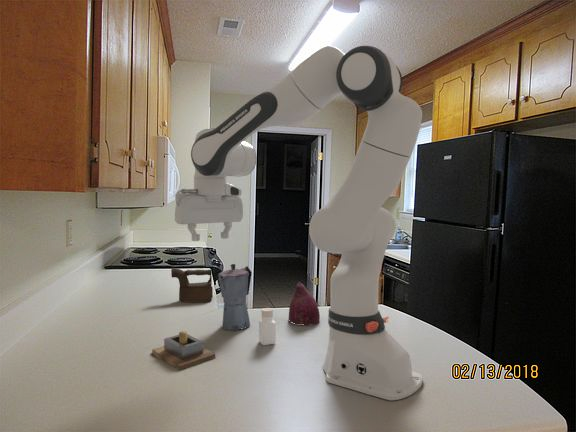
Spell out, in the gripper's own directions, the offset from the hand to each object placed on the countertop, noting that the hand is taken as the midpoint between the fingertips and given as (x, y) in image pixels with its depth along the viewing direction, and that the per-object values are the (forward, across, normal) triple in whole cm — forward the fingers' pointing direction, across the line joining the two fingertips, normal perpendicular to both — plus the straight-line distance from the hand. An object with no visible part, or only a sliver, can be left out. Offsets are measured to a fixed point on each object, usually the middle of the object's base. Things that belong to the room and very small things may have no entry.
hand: (210, 239), depth 105 cm
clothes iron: (+29, +22, +44) cm, 57 cm away
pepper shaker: (+29, +11, -11) cm, 33 cm away
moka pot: (+29, +14, +7) cm, 33 cm away
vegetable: (+29, +33, -5) cm, 44 cm away
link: (+28, -10, -2) cm, 30 cm away
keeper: (+29, -10, -2) cm, 31 cm away
